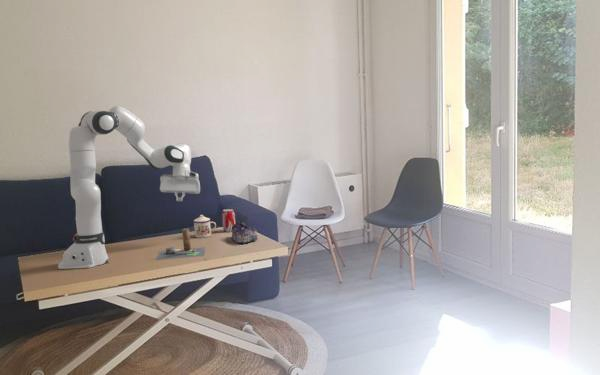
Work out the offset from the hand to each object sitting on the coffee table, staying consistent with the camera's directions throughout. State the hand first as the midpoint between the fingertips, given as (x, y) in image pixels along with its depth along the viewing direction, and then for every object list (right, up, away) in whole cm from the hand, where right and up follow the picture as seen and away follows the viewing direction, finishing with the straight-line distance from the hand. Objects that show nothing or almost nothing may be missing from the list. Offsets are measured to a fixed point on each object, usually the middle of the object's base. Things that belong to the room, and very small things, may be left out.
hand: (179, 201), depth 293 cm
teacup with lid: (+10, -20, +23) cm, 32 cm away
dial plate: (+5, -26, -20) cm, 33 cm away
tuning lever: (+5, -24, -20) cm, 32 cm away
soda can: (+22, -18, +31) cm, 42 cm away
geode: (+31, -21, +7) cm, 38 cm away
